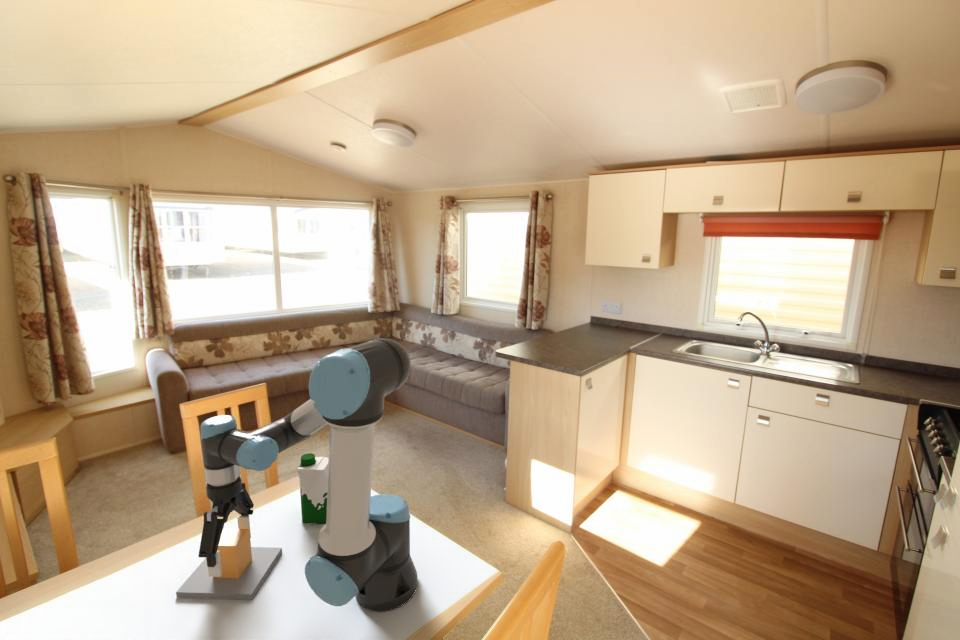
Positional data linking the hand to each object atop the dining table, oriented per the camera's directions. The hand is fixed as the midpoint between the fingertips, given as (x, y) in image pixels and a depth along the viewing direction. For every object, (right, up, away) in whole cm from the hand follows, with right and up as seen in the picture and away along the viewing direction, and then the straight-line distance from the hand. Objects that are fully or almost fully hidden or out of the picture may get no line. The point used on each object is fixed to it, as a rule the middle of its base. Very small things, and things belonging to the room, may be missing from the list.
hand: (231, 556), depth 113 cm
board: (0, -5, +1) cm, 5 cm away
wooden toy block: (0, -4, +1) cm, 4 cm away
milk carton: (+13, -1, +24) cm, 28 cm away
